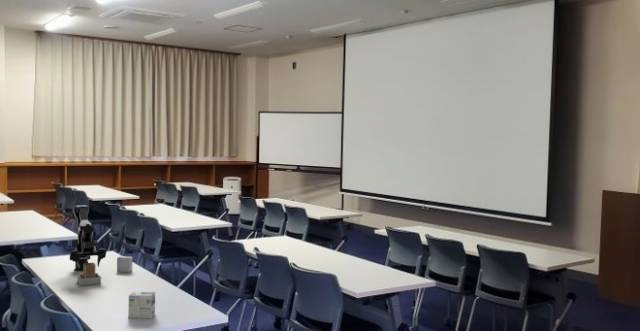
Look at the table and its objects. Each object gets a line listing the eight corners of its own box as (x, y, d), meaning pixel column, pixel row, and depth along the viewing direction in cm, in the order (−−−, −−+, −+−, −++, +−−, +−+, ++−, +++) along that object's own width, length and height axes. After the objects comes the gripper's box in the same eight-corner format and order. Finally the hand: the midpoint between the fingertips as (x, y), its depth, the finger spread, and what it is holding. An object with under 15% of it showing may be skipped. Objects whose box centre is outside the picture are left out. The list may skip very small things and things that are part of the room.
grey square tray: (77, 281, 315) (77, 274, 315) (97, 279, 320) (97, 272, 320) (80, 286, 306) (80, 279, 306) (100, 284, 311) (100, 277, 311)
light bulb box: (155, 314, 264) (155, 291, 263) (151, 318, 257) (152, 295, 256) (132, 313, 263) (132, 290, 263) (127, 318, 257) (128, 294, 256)
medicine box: (132, 270, 344) (132, 256, 343) (129, 272, 339) (129, 258, 339) (120, 270, 345) (120, 255, 344) (116, 271, 340) (116, 257, 340)
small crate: (83, 281, 314) (83, 263, 313) (93, 280, 317) (93, 262, 316) (84, 283, 309) (84, 265, 309) (95, 282, 312) (95, 264, 311)
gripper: (70, 236, 311) (72, 260, 302) (106, 234, 320) (109, 257, 311) (68, 247, 318) (70, 271, 309) (103, 245, 328) (106, 268, 319)
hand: (89, 267), depth 312 cm, fingers open, 9 cm apart
